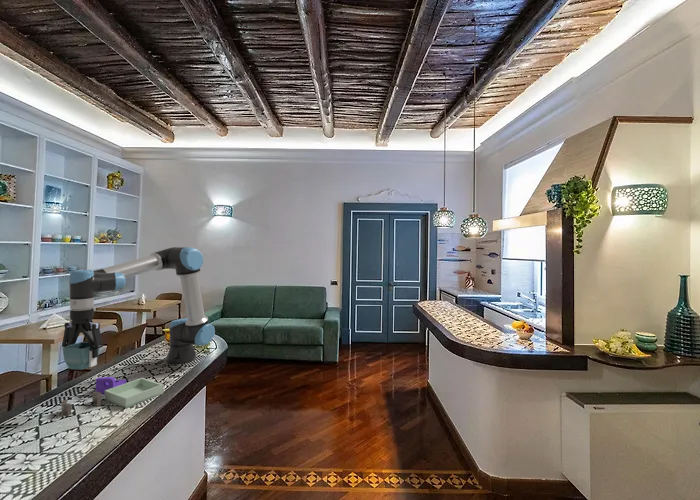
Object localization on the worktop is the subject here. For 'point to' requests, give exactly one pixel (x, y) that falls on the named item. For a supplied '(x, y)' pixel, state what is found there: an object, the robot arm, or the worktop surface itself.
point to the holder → (67, 407)
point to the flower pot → (77, 355)
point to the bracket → (107, 383)
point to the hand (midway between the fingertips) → (82, 365)
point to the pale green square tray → (133, 392)
